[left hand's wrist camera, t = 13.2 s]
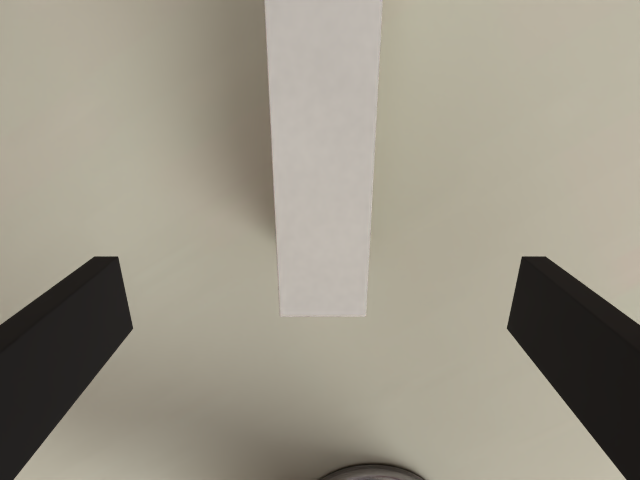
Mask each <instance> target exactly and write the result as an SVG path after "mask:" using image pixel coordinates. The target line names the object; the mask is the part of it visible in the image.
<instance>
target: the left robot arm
mask: <svg viewBox="0 0 640 480" xmlns="http://www.w3.org/2000/svg"><path fill="white" fill-rule="evenodd" d="M132 329H133V326H132V321H131V316H130V311H129V307H128V302H127V297H126V292H125V288H124V283H123V278H122V273H121V268H120V264H119V259H118V257H93V258H92V259H90V260H89V261H88V262H86V263H85V264H84V265H82V266H81V267H79V268H78V269H77V270H75V271H74V272H73V273H71V274H70V275H68V276H67V277H66V278H64V279H63V280H62V281H60V282H59V283H57V284H56V285H55V286H53V287H52V288H51V289H49V290H48V291H46V292H45V293H44V294H42V295H41V296H40V297H38V298H37V299H35V300H34V301H33V302H31V303H30V304H29V305H27V306H26V307H24V308H23V309H22V310H20V311H19V312H18V313H16V314H15V315H14V316H12V317H11V318H9V319H8V320H7V321H5V322H4V323H3V324H1V325H0V480H14V478H15V477H16V476H17V475H18V473H19V472H20V471H21V470H22V468H23V467H24V466H25V464H26V463H27V462H28V461H29V459H30V458H31V457H32V456H33V454H34V453H35V452H36V451H37V449H38V448H39V447H40V446H41V444H42V443H43V442H44V440H45V439H46V438H47V437H48V435H49V434H50V433H51V432H52V430H53V429H54V428H55V427H56V425H57V424H58V423H59V422H60V420H61V419H62V418H63V416H64V415H65V414H66V413H67V411H68V410H69V409H70V408H71V406H72V405H73V404H74V403H75V401H76V400H77V399H78V398H79V396H80V395H81V394H82V392H83V391H84V390H85V389H86V387H87V386H88V385H89V384H90V382H91V381H92V380H93V379H94V377H95V376H96V375H97V374H98V372H99V371H100V370H101V368H102V367H103V366H104V365H105V363H106V362H107V361H108V360H109V358H110V357H111V356H112V355H113V353H114V352H115V351H116V350H117V348H118V347H119V346H120V344H121V343H122V342H123V341H124V339H125V338H126V337H127V336H128V334H129V333H130V332H131V331H132ZM507 329H508V331H509V332H510V333H511V334H512V336H513V337H514V338H515V339H516V341H517V342H518V343H519V344H520V346H521V347H522V348H523V350H524V351H525V352H526V353H527V355H528V356H529V357H530V358H531V360H532V361H533V362H534V363H535V365H536V366H537V367H538V368H539V370H540V371H541V372H542V374H543V375H544V376H545V377H546V379H547V380H548V381H549V382H550V384H551V385H552V386H553V387H554V389H555V390H556V391H557V392H558V394H559V395H560V396H561V398H562V399H563V400H564V401H565V403H566V404H567V405H568V406H569V408H570V409H571V410H572V411H573V413H574V414H575V415H576V416H577V418H578V419H579V420H580V422H581V423H582V424H583V425H584V427H585V428H586V429H587V430H588V432H589V433H590V434H591V435H592V437H593V438H594V439H595V440H596V442H597V443H598V444H599V446H600V447H601V448H602V449H603V451H604V452H605V453H606V454H607V456H608V457H609V458H610V459H611V461H612V462H613V463H614V464H615V466H616V467H617V468H618V470H619V471H620V472H621V473H622V475H623V476H624V477H625V478H626V480H640V325H639V324H637V323H636V322H635V321H633V320H632V319H631V318H629V317H628V316H626V315H625V314H624V313H622V312H621V311H620V310H618V309H617V308H616V307H614V306H613V305H611V304H610V303H609V302H607V301H606V300H605V299H603V298H602V297H600V296H599V295H598V294H596V293H595V292H594V291H592V290H591V289H589V288H588V287H587V286H585V285H584V284H583V283H581V282H580V281H578V280H577V279H576V278H574V277H573V276H572V275H570V274H569V273H567V272H566V271H565V270H563V269H562V268H561V267H559V266H558V265H556V264H555V263H554V262H552V261H551V260H550V259H548V258H547V257H522V259H521V264H520V268H519V273H518V278H517V283H516V288H515V292H514V297H513V302H512V307H511V311H510V316H509V321H508V326H507ZM321 480H423V479H422V478H420V477H419V476H417V475H415V474H413V473H411V472H409V471H406V470H403V469H400V468H396V467H392V466H385V465H360V466H354V467H349V468H345V469H342V470H339V471H336V472H334V473H331V474H329V475H327V476H325V477H324V478H322V479H321Z"/></svg>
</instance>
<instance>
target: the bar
mask: <svg viewBox="0 0 640 480" xmlns="http://www.w3.org/2000/svg"><path fill="white" fill-rule="evenodd" d="M382 5H383V0H264V6H265V27H266V47H267V67H268V87H269V108H270V128H271V148H272V168H273V189H274V209H275V229H276V250H277V270H278V290H279V310H280V316H366V308H367V289H368V270H369V251H370V232H371V214H372V195H373V176H374V157H375V138H376V119H377V100H378V81H379V62H380V43H381V24H382Z"/></svg>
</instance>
